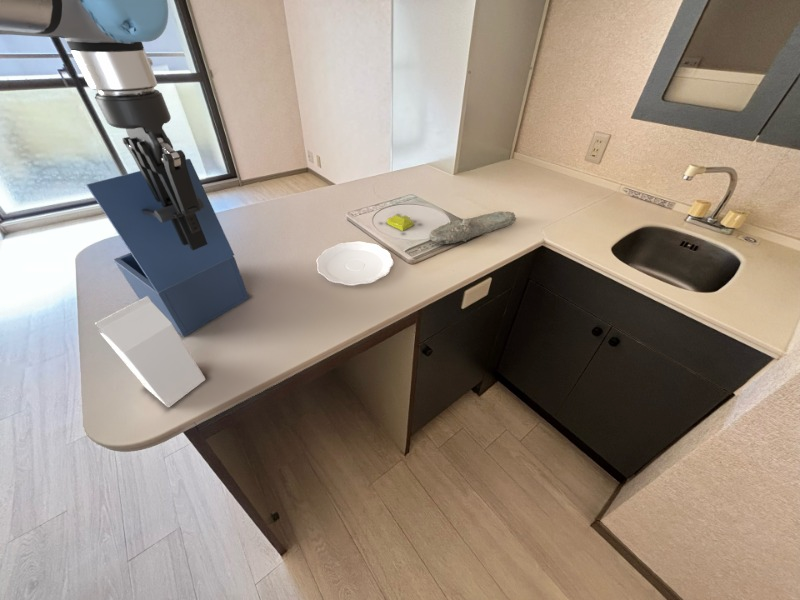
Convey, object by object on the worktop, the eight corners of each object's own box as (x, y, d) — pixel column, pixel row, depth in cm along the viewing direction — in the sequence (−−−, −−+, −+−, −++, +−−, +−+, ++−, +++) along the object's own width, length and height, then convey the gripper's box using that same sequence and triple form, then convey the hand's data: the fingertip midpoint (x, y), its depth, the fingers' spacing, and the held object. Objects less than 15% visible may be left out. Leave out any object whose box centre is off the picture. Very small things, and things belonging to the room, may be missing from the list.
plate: (360, 238, 102) (360, 234, 101) (408, 267, 91) (408, 262, 90) (302, 264, 90) (301, 259, 89) (348, 300, 79) (348, 295, 78)
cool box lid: (85, 184, 50) (103, 187, 45) (188, 158, 60) (211, 159, 55) (156, 291, 61) (176, 303, 56) (232, 254, 71) (255, 261, 66)
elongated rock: (521, 229, 112) (500, 218, 119) (525, 214, 109) (503, 204, 116) (441, 250, 97) (422, 237, 103) (443, 234, 94) (423, 221, 100)
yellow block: (380, 223, 110) (380, 216, 108) (398, 215, 115) (399, 207, 113) (403, 234, 105) (403, 226, 103) (420, 224, 110) (421, 216, 108)
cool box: (140, 301, 77) (113, 259, 69) (205, 270, 87) (187, 230, 79) (184, 337, 69) (158, 293, 61) (249, 298, 79) (234, 256, 71)
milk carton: (206, 379, 61) (160, 304, 49) (168, 408, 56) (107, 333, 44) (184, 363, 64) (135, 288, 51) (146, 389, 59) (83, 313, 47)
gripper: (186, 94, 42) (239, 248, 58) (131, 81, 48) (192, 223, 64) (122, 102, 37) (198, 268, 53) (70, 86, 44) (152, 239, 59)
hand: (195, 243), depth 58 cm, fingers closed on cool box lid, 2 cm apart
